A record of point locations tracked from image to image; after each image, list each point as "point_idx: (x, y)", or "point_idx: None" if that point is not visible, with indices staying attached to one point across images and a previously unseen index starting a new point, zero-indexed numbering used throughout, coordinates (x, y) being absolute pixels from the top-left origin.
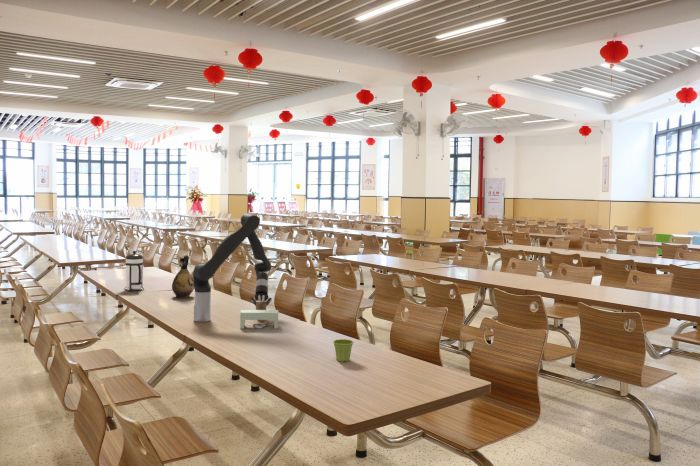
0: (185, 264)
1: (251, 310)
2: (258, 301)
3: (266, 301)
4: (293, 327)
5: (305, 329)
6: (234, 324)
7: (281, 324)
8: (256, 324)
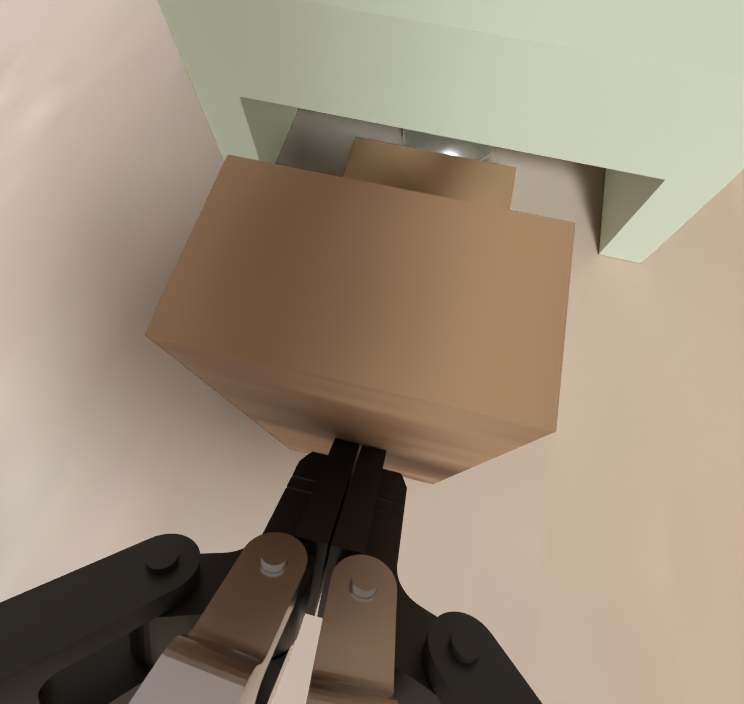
0: None
1: (624, 23)
2: (478, 265)
3: (60, 644)
4: (116, 82)
5: (52, 9)
6: (727, 328)
7: (174, 210)
8: (475, 164)
